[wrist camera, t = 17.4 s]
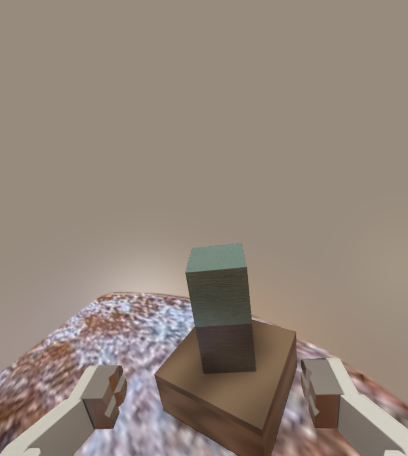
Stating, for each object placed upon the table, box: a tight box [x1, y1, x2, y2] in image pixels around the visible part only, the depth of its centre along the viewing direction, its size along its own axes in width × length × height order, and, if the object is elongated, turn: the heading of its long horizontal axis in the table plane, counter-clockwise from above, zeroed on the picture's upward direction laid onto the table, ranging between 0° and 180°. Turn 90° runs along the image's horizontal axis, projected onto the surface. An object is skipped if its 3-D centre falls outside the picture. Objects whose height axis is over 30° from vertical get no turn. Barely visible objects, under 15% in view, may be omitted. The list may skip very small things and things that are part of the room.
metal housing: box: [186, 243, 256, 374], centre depth 24 cm, size 5×5×11 cm
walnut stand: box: [154, 320, 297, 456], centre depth 26 cm, size 11×11×5 cm
